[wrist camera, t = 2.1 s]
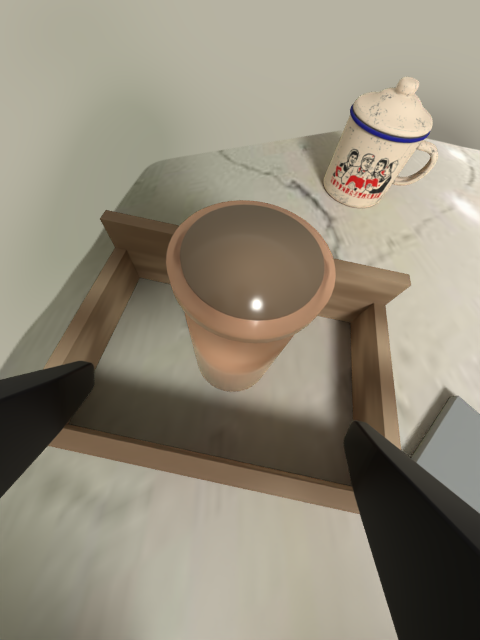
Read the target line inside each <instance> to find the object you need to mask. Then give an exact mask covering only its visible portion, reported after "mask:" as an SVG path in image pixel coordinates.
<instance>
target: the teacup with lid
mask: <svg viewBox="0 0 480 640" xmlns="http://www.w3.org/2000/svg"><path fill="white" fill-rule="evenodd" d="M418 87H419V82H418V80H416V79H414V78H411V77H404V78H402V79H401V80H400V81H399V83H398V85H397V87H396V88H387V89H385V90H382V91H380V92H370V93H365V94H363V95H361V96H360V97H358V98H357V99H356V101H355V102H354V104H353V105H352V106H351V109H350V116H349V119H348V121H347V124H346V126H345V128H344V131H343V133H342V136H341V138H340V140H339V143H338V145H337V148H336V150H335V152H334V155H333V157H332V160H331V162H330V164H329V167H328V169H327V172H326V174H325V176H324V187H325V189H326V191H327V192H328V193H329V195H330V196H331V197H333V198H334V199H335V200H337V201H338V202H340V203H342V204H345V205H347V206H351V207H356V208H366V207H371V206H374V205H375V204H377V203H378V202H379V201H380V200H381V199H382V197H383V196H384V194H385V193H386V192H387V190H388V189H389V187H390V186H391V184H394V185H409V184H412V183H414V182H416V181H418V180H420V179H421V178H423V177H424V176H425V175H426V174H428V173H429V172H430V171H431V169H432V168H433V167H434V165H435V164H436V162H437V159H438V151H437V148H436V146H435V145H434V144H432V143H430V142H427V141H423V140H424V139H425V138H427V136H428V135H429V133H430V130H431V128H432V123H433V121H432V117H431V115H430V114H429V112H428V111H427V110H426V109H425V108H423V106H422V103H421V101H420V99H419V97H418V96H417V95H415V92H416V90H417V89H418ZM416 149H417V150H421V151H425V152H427V153H428V154H429V155H430V156H431V157H430V160H429V161H428V163H427V164H426V165H425V166H424V167H423V168H422V169H421V170H420V171H418V172H417V173H415V174H413V175H411V176H408V177H398V174H399V173H400V171H401V170H402V169H403V167H404V166H405V164H406V163H407V161H408V160H409V159H410V157H411V156H412V154H413V153H414V151H415V150H416Z"/></svg>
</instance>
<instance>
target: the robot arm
mask: <svg viewBox="0 0 480 640" xmlns="http://www.w3.org/2000/svg"><path fill="white" fill-rule="evenodd" d="M93 387H94V364H93V363H91V362H86V361H76V362H72V363H68V364H64V365H59V366H55V367H51V368H47V369H43V370H39V371H35V372H31V373H27V374H23V375H19V376H14V377H10V378H6V379H2V380H0V498H1V497H2V496H3V495H4V494H5V492H6V491H7V490H8V489H9V488H10V487H11V486H12V485H13V484H14V483H15V481H16V480H17V479H18V478H19V477H20V476H21V475H22V474H23V473H24V471H25V470H26V469H27V468H28V467H29V466H30V465H31V464H32V463H33V462H34V460H35V459H36V458H37V457H38V456H39V455H40V454H41V453H42V452H43V451H44V449H45V448H46V447H47V446H48V445H49V444H50V443H51V442H52V441H53V439H54V438H55V437H56V436H57V435H58V434H59V433H60V431H61V430H62V429H63V428H64V427H65V425H66V424H67V423H68V422H69V420H70V419H71V418H72V416H73V415H74V414H75V412H76V411H77V410H78V408H79V407H80V406H81V404H82V403H83V402H84V400H85V399H86V398H87V396H88V395H89V394H90V392H91V391H92V389H93ZM344 449H345V454H346V459H347V464H348V469H349V473H350V478H351V483H352V488H353V492H354V496H355V499H356V503H357V506H358V509H359V513H360V516H361V519H362V522H363V526H364V529H365V532H366V535H367V539H368V542H369V545H370V548H371V552H372V555H373V558H374V562H375V565H376V568H377V571H378V575H379V578H380V581H381V584H382V588H383V591H384V594H385V597H386V601H387V604H388V607H389V610H390V614H391V617H392V620H393V624H394V627H395V630H396V633H397V637H398V640H480V513H479V512H477V511H476V510H475V509H474V508H472V507H471V506H470V505H469V504H467V503H466V502H465V501H464V500H462V499H461V498H460V497H459V496H457V495H456V494H455V493H454V492H452V491H451V490H450V489H449V488H447V487H446V486H445V485H444V484H442V483H441V482H440V481H439V480H437V479H436V478H435V477H434V476H432V475H431V474H430V473H429V472H427V471H426V470H425V469H424V468H422V467H421V466H420V465H419V464H417V463H416V462H415V461H414V460H413V459H411V458H410V457H409V456H408V455H406V454H405V453H404V452H403V451H401V450H400V449H399V448H398V447H396V446H395V445H394V444H393V443H391V442H390V441H389V440H388V439H386V438H385V437H384V436H383V435H381V434H380V433H379V432H378V431H376V430H375V429H374V428H373V427H371V426H370V425H369V424H368V423H366V422H362V421H357V420H353V421H352V422H351V424H350V426H349V428H348V431H347V433H346V435H345V438H344Z"/></svg>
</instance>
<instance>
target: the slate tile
mask: <svg viewBox="0 0 480 640" xmlns="http://www.w3.org/2000/svg"><path fill="white" fill-rule="evenodd" d="M411 459H413V460H414V461H415V462H416V463H417V464H419V465H420V466H421V467H422V468H424V469H425V470H426V471H427V472H429V473H430V474H431V475H432V476H434V477H435V478H436V479H437V480H439V481H440V482H441V483H442V484H444V485H445V486H446V487H447V488H449V489H450V490H451V491H452V492H454V493H455V494H456V495H457V496H459V497H460V498H461V499H462V500H464V501H465V502H466V503H467V504H469V505H470V506H471V507H472V508H474V509H475V510H476V511H477V512H479V513H480V414H479V413H478V412H477V411H476V410H474V409H473V408H472V407H471V406H470V405H469V404H467V403H466V402H465V401H464V400H463V399H462V398H460V397H459V396H453V397H450V398H449V400H448V401H447V403H446V404H445V406H444V407H443V409H442V411H441V412H440V414H439V415H438V417H437V418H436V420H435V421H434V423H433V424H432V426H431V428H430V429H429V431H428V432H427V434H426V435H425V437H424V438H423V440H422V442H421V443H420V445H419V446H418V448H417V449H416V451H415V452H414V454H413V456H412V457H411Z"/></svg>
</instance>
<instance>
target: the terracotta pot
mask: <svg viewBox="0 0 480 640" xmlns="http://www.w3.org/2000/svg"><path fill="white" fill-rule="evenodd" d="M166 266H167V273H168V276H169V280H170V283H171V287H172V290H173V293H174V295H175V297H176V300H177V302H178V303H179V305H180V306H181V308H182V309H183V310H184V312H185V316H186V320H187V324H188V328H189V332H190V336H191V339H192V343H193V347H194V351H195V355H196V359H197V363H198V366H199V369H200V372H201V374H202V375H203V377H204V378H205V379H206V380H207V381H208V382H209V383H210V384H211V385H213V386H214V387H216V388H218V389H221V390H224V391H229V392H236V391H242V390H245V389H248V388H250V387H252V386H253V385H254V384H256V383H257V382H258V381H259V380H260V379H261V377H262V376H263V375H264V373H265V372H266V371H267V369H268V368H269V367H270V366H271V364H272V363H273V362H274V360H275V359H276V358H277V357H278V355H279V354H280V353H281V351H282V350H283V349H284V347H285V346H286V345H287V344H288V342H289V341H290V340H291V338H292V337H293V336H294V334H296V333H298V332H299V331H301V330H302V329H304V328H305V327H307V326H308V325H309V324H310V323H311V322H312V321H313V320H314V319H315V318H316V316H317V315H318V314H319V313H320V312H321V310H322V309H323V308H324V307H325V305H326V304H327V302H328V301H329V299H330V297H331V295H332V292H333V289H334V285H335V279H336V272H335V264H334V259H333V256H332V253H331V251H330V249H329V247H328V245H327V243H326V242H325V241H324V239H323V238H322V236H321V235H320V234H319V233H318V232H317V230H315V229H314V228H313V227H312V226H311V225H310V224H309V223H308V222H306V221H305V220H304V219H302V218H301V217H299V216H297V215H296V214H294V213H292V212H290V211H288V210H286V209H283V208H281V207H278V206H275V205H272V204H268V203H263V202H257V201H243V200H239V201H228V202H222V203H218V204H214V205H211V206H208V207H206V208H203V209H201V210H199V211H198V212H196V213H194V214H193V215H191V216H190V217H188V218H187V219H186V220H185V221H184V222H183V223H182V224H181V225H180V226H179V227H178V228H177V230H176V231H175V233H174V234H173V236H172V238H171V240H170V243H169V245H168V250H167V255H166Z"/></svg>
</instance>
